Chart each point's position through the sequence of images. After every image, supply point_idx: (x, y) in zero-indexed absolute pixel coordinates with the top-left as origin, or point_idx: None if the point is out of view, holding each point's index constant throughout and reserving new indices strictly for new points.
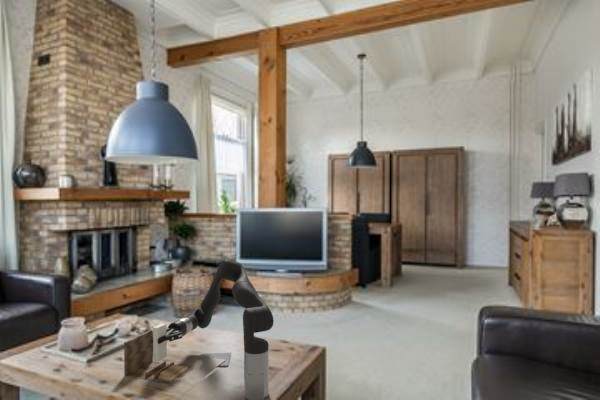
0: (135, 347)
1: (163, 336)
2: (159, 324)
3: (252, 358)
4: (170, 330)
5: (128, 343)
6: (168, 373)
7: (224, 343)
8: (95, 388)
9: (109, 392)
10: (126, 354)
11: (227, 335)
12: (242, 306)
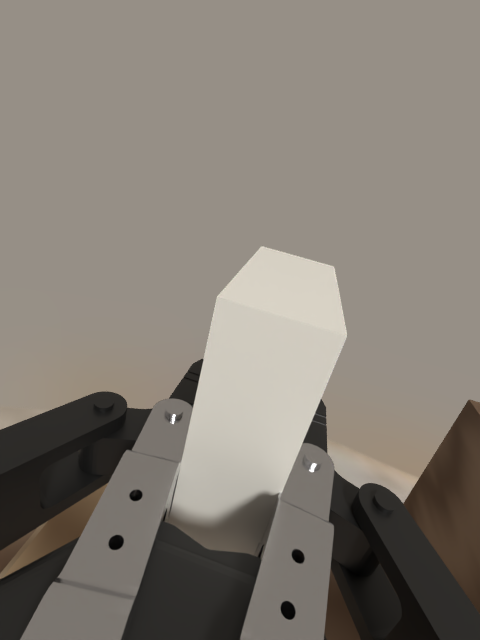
0: (473, 545)
1: (195, 389)
2: (337, 307)
3: None
4: (127, 590)
5: (470, 424)
6: (98, 489)
7: None
8: (406, 477)
9: (328, 445)
10: (428, 468)
11: None
12: None
